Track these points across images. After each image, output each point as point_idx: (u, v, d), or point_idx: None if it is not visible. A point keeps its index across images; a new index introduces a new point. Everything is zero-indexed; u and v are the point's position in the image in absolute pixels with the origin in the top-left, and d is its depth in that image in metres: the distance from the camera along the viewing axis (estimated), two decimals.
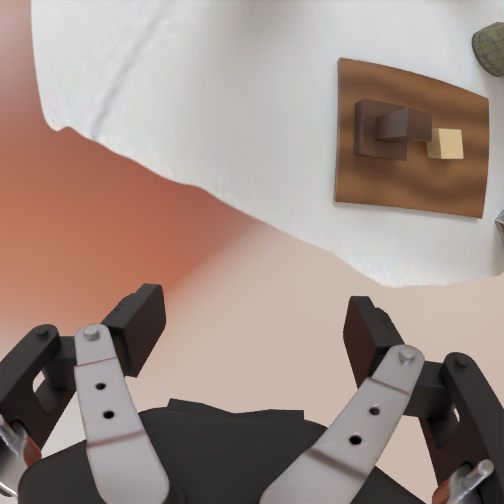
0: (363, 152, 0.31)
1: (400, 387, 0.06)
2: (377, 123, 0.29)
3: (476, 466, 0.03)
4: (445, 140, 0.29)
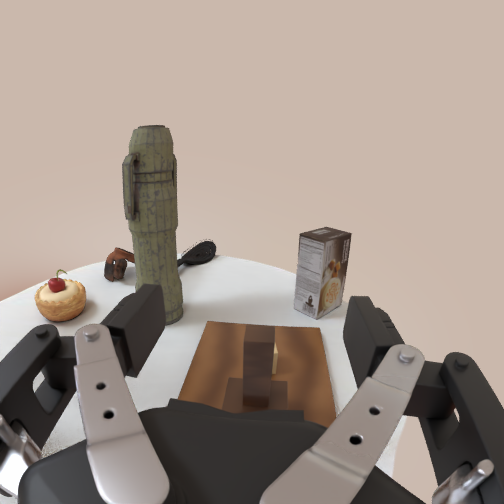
0: None
1: (400, 387, 0.06)
2: (250, 402, 0.28)
3: (476, 466, 0.03)
4: None
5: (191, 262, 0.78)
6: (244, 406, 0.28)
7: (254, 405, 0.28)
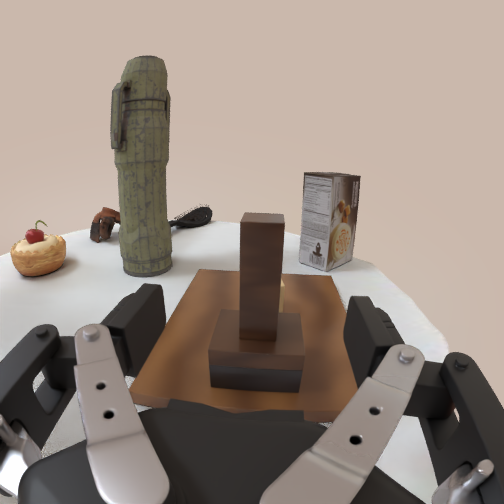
0: (301, 354, 0.20)
1: (400, 387, 0.06)
2: (251, 333, 0.21)
3: (476, 466, 0.03)
4: None
5: (185, 224, 0.71)
6: (242, 340, 0.21)
7: (256, 338, 0.21)
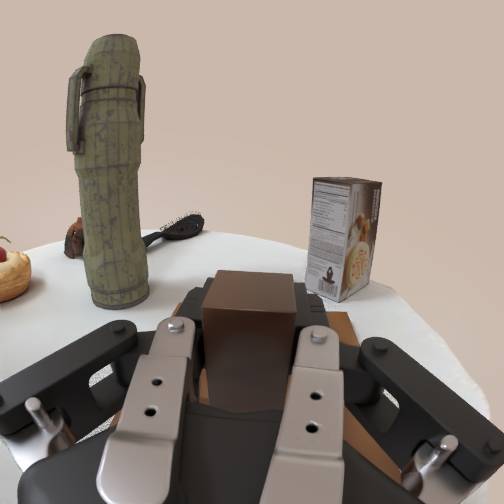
0: None
1: (326, 367, 0.07)
2: None
3: (438, 444, 0.04)
4: None
5: (171, 236, 0.61)
6: None
7: None
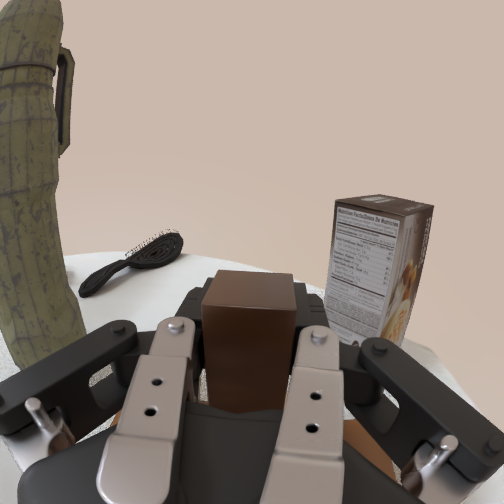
0: None
1: (326, 367, 0.07)
2: None
3: (438, 444, 0.04)
4: None
5: (139, 265, 0.46)
6: None
7: None
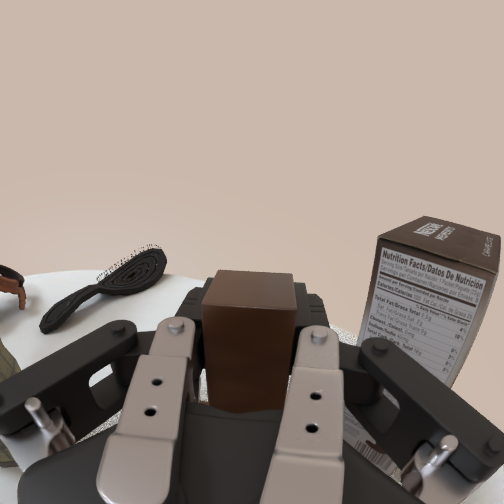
0: None
1: (326, 367, 0.07)
2: None
3: (438, 444, 0.04)
4: None
5: (111, 292, 0.37)
6: None
7: None
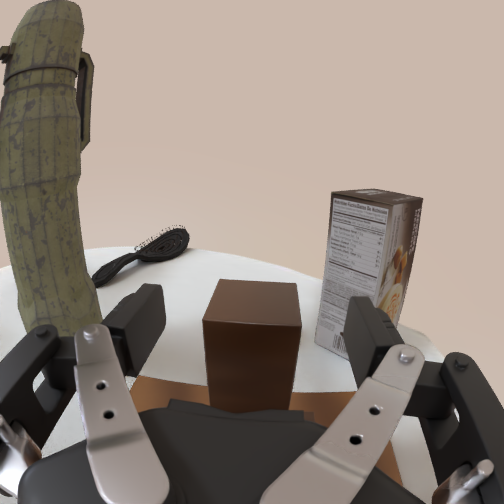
0: None
1: (400, 387, 0.06)
2: None
3: (476, 466, 0.03)
4: None
5: (147, 258, 0.49)
6: None
7: None
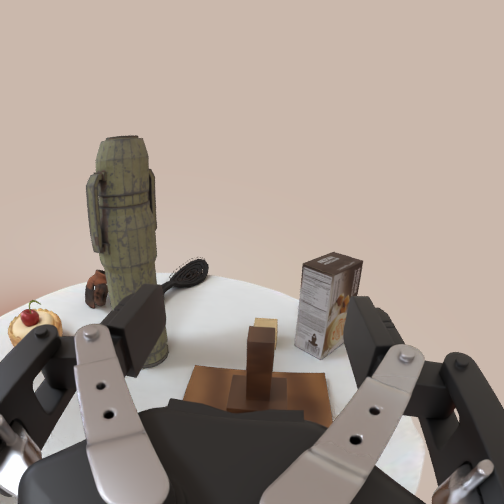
0: None
1: (400, 387, 0.06)
2: (253, 396, 0.31)
3: (476, 466, 0.03)
4: None
5: (180, 285, 0.70)
6: (247, 400, 0.31)
7: (256, 399, 0.31)
